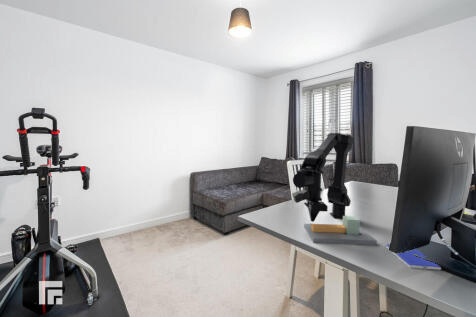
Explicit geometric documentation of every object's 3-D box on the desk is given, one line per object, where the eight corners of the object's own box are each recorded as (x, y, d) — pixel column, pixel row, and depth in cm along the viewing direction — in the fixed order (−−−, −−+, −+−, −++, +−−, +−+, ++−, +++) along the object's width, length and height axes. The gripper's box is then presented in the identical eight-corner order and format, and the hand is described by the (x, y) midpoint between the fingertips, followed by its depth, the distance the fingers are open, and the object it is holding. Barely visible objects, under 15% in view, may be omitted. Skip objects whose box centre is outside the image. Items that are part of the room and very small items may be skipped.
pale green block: (342, 233, 86) (342, 215, 85) (353, 233, 86) (354, 216, 85) (346, 237, 82) (347, 219, 81) (358, 238, 81) (359, 220, 81)
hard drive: (386, 243, 75) (409, 264, 62) (411, 245, 74) (441, 266, 61) (385, 248, 75) (409, 269, 62) (411, 249, 74) (440, 271, 61)
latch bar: (311, 228, 86) (311, 223, 86) (342, 229, 85) (342, 224, 85) (313, 231, 83) (313, 226, 83) (345, 232, 82) (345, 227, 82)
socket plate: (304, 227, 92) (304, 223, 92) (357, 228, 90) (357, 225, 90) (313, 242, 78) (313, 238, 78) (376, 244, 76) (376, 240, 76)
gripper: (290, 180, 100) (289, 213, 101) (298, 189, 82) (297, 229, 83) (314, 181, 99) (313, 214, 101) (328, 190, 81) (327, 230, 82)
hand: (312, 221), depth 91 cm, fingers closed
